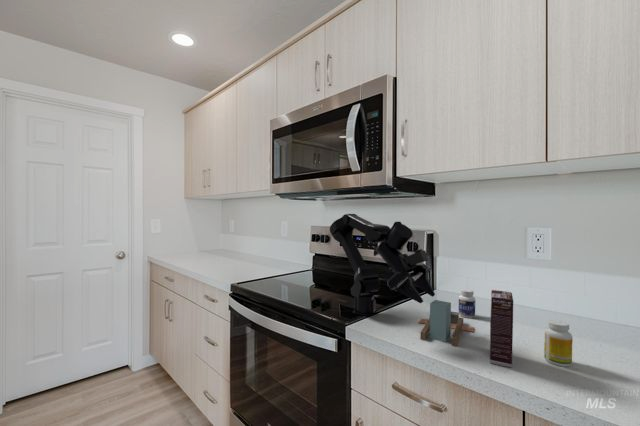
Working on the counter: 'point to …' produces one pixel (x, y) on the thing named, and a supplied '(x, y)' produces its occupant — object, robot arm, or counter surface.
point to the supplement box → (501, 328)
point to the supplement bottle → (558, 343)
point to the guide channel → (457, 325)
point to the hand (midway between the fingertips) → (428, 298)
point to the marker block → (440, 320)
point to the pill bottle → (467, 303)
